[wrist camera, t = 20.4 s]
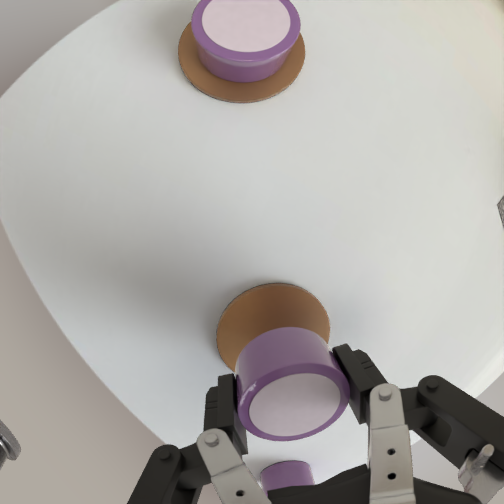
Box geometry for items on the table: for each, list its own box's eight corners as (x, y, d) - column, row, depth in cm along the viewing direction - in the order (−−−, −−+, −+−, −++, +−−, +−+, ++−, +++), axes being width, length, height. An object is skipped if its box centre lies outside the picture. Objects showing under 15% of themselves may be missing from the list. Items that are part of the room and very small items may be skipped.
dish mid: (248, 410, 14) (252, 450, 11) (223, 340, 13) (222, 381, 10) (334, 388, 15) (352, 424, 12) (325, 314, 13) (348, 348, 10)
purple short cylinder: (206, 92, 13) (201, 71, 10) (190, 20, 12) (183, -7, 9) (298, 75, 13) (314, 54, 10) (275, 7, 12) (284, -21, 9)
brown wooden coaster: (233, 387, 18) (233, 392, 18) (202, 298, 16) (201, 302, 16) (332, 362, 18) (334, 366, 18) (320, 269, 17) (322, 272, 16)
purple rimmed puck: (265, 487, 22) (268, 509, 19) (254, 467, 21) (257, 492, 18) (312, 477, 22) (318, 498, 19) (307, 455, 21) (315, 480, 18)
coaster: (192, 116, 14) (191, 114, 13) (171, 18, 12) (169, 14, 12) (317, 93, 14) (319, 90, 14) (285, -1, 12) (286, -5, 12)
